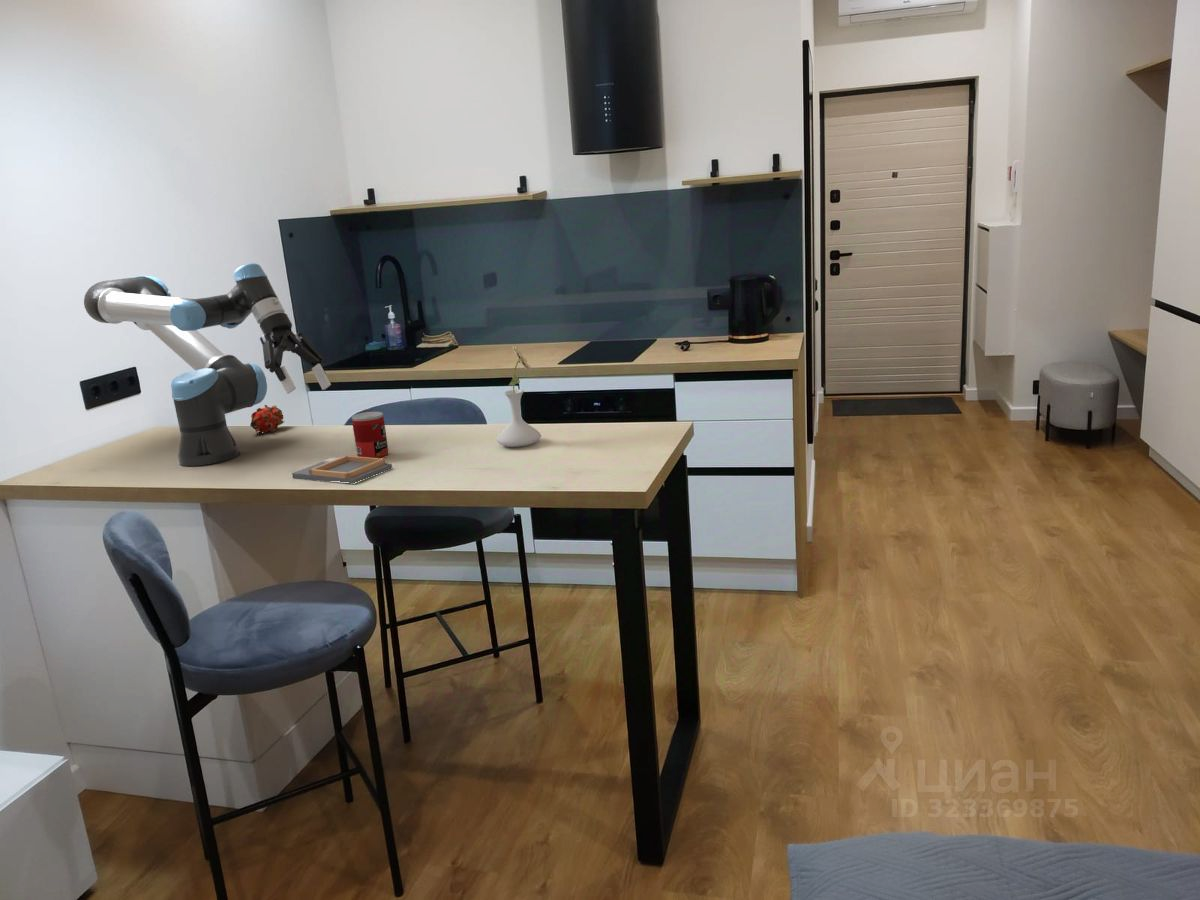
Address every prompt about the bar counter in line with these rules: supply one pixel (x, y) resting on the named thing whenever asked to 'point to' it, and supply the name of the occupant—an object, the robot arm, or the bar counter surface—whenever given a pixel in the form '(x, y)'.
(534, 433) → the flower in vase
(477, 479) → the bar counter surface
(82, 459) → the bar counter surface
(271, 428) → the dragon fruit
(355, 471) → the plate
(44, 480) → the bar counter surface
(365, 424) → the canned food
